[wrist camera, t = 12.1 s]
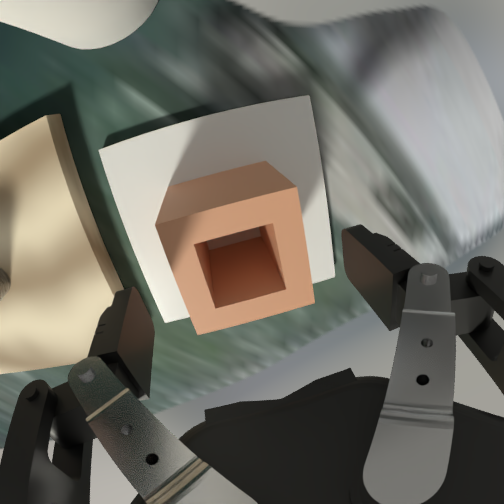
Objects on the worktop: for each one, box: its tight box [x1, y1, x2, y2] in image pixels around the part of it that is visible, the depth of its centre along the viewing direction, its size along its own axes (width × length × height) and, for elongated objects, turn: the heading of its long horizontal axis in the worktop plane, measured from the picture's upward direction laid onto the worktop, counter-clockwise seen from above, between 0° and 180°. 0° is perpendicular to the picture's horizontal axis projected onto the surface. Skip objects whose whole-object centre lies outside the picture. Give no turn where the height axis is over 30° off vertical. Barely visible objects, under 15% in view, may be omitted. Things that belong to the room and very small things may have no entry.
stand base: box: [0, 114, 124, 374], centre depth 17 cm, size 16×16×2 cm
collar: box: [155, 161, 315, 335], centre depth 16 cm, size 6×6×6 cm
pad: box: [99, 95, 335, 323], centre depth 19 cm, size 12×12×1 cm
